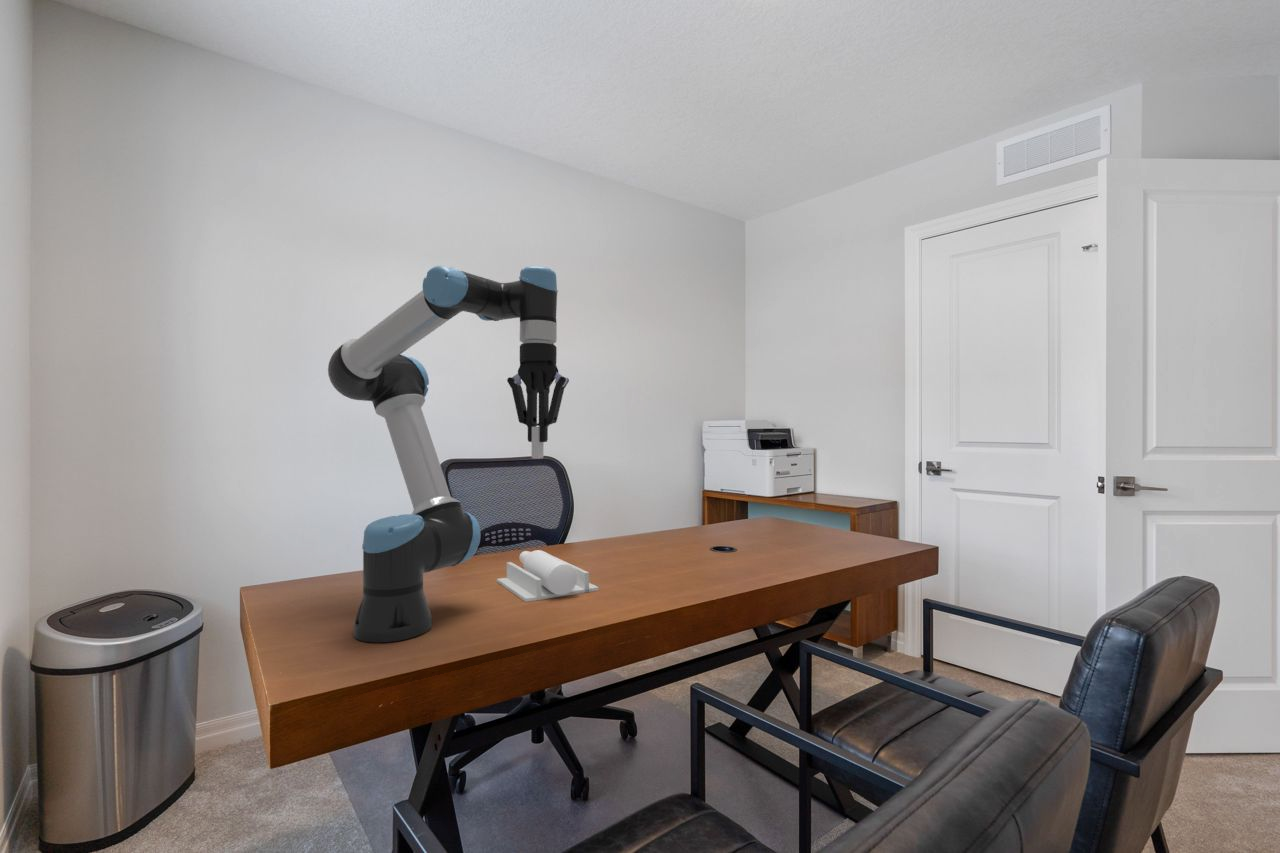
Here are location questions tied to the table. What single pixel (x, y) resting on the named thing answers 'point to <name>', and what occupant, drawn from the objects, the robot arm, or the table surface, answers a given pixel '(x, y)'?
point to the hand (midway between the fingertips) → (537, 458)
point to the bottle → (550, 571)
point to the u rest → (531, 586)
